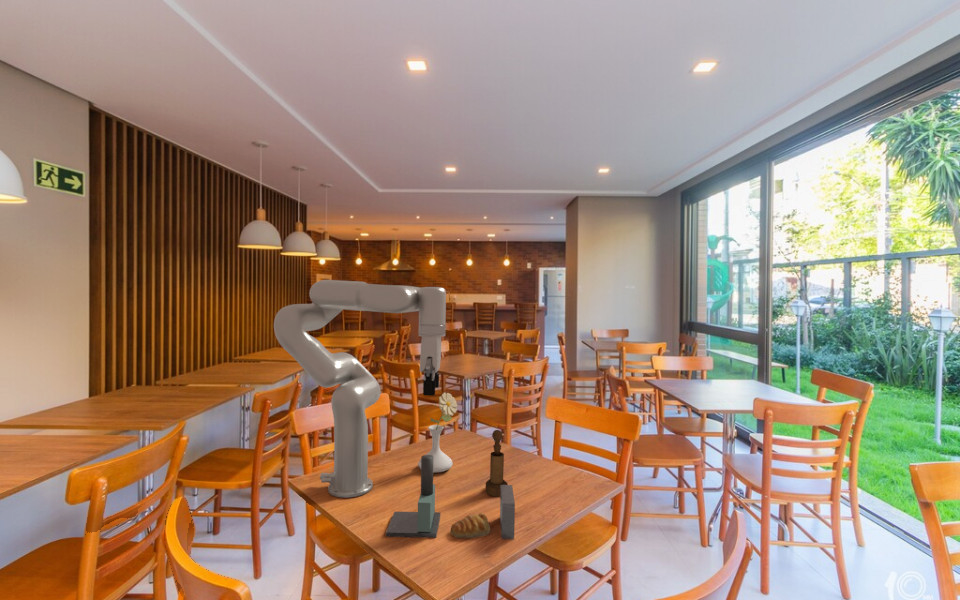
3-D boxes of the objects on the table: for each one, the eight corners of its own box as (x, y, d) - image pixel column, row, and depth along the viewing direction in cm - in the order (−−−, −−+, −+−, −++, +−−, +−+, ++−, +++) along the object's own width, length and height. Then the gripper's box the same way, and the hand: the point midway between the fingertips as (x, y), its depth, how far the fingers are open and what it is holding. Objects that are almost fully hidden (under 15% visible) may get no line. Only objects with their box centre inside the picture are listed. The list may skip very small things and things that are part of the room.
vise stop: (501, 538, 104) (502, 503, 104) (500, 517, 114) (500, 484, 114) (514, 539, 104) (514, 503, 104) (511, 517, 114) (512, 485, 114)
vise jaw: (417, 531, 104) (418, 464, 104) (423, 510, 114) (424, 449, 114) (430, 532, 104) (430, 465, 104) (434, 511, 114) (435, 450, 114)
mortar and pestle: (505, 497, 125) (506, 434, 125) (483, 495, 126) (484, 433, 126) (508, 487, 131) (509, 427, 131) (487, 485, 133) (488, 426, 132)
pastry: (456, 544, 102) (456, 528, 102) (446, 530, 108) (446, 514, 108) (492, 535, 106) (492, 519, 106) (480, 522, 112) (481, 507, 112)
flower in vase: (425, 478, 137) (426, 399, 136) (412, 465, 147) (413, 391, 146) (463, 470, 143) (464, 394, 143) (448, 459, 153) (449, 388, 153)
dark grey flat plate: (385, 536, 104) (385, 532, 104) (394, 515, 114) (394, 511, 114) (436, 537, 104) (436, 533, 104) (440, 516, 114) (440, 512, 114)
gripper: (423, 328, 132) (422, 384, 132) (413, 333, 115) (413, 398, 115) (447, 328, 132) (447, 385, 132) (442, 333, 115) (441, 399, 115)
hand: (431, 391), depth 123 cm, fingers open, 9 cm apart
